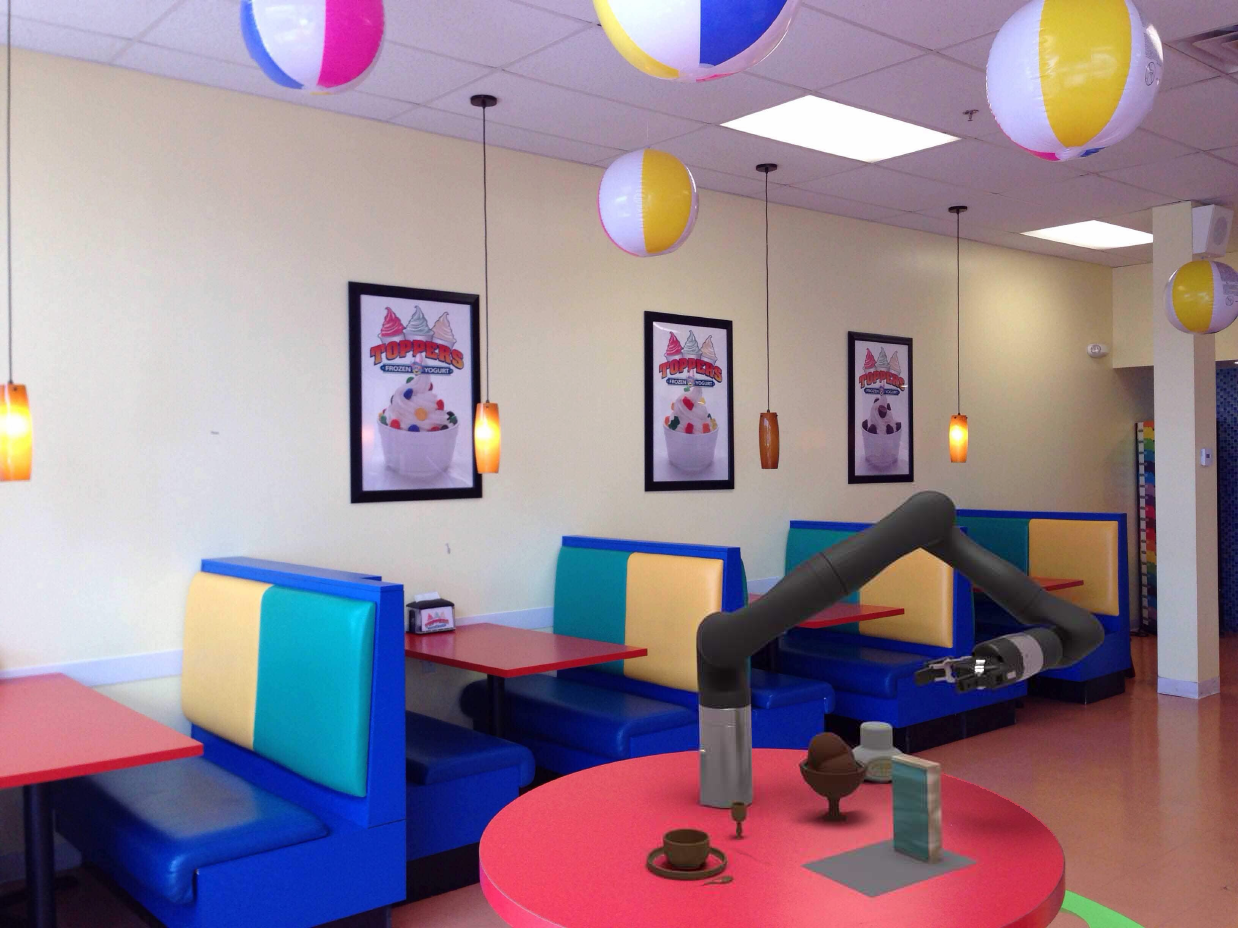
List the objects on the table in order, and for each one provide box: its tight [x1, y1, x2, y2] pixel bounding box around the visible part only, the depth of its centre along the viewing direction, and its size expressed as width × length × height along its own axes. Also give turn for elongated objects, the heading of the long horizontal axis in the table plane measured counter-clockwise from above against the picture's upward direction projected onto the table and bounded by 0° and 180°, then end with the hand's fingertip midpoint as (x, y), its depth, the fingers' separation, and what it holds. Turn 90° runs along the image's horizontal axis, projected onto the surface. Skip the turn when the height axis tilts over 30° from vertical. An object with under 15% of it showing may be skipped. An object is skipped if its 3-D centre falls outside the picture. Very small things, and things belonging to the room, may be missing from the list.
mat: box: [799, 837, 979, 898], centre depth 149 cm, size 22×14×1 cm, turn 122°
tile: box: [891, 753, 943, 864], centre depth 152 cm, size 3×7×14 cm, turn 32°
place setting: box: [646, 802, 748, 886], centre depth 154 cm, size 18×20×6 cm
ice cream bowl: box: [798, 731, 868, 823], centre depth 170 cm, size 11×11×15 cm
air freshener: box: [852, 721, 904, 783], centre depth 194 cm, size 11×8×10 cm
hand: (936, 682), depth 160 cm, fingers open, 8 cm apart
